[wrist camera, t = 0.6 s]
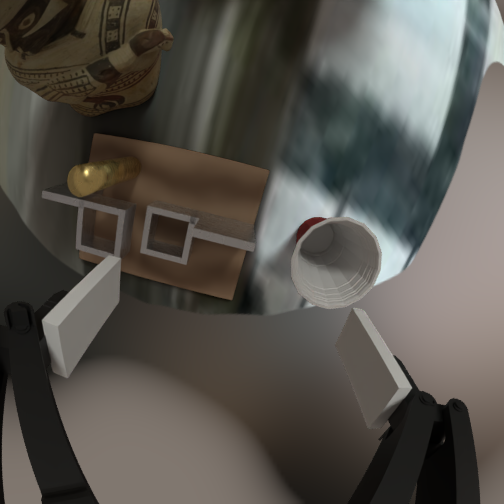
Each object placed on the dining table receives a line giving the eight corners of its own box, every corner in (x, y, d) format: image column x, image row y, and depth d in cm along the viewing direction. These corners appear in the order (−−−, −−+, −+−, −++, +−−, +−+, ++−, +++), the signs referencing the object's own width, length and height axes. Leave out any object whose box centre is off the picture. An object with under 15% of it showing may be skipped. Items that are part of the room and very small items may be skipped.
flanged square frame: (71, 181, 37) (42, 190, 30) (146, 198, 38) (125, 210, 31) (67, 222, 39) (40, 237, 32) (139, 241, 40) (119, 261, 33)
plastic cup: (343, 190, 40) (377, 208, 29) (354, 258, 44) (385, 294, 33) (270, 208, 41) (280, 232, 30) (287, 276, 45) (301, 319, 33)
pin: (123, 154, 36) (69, 162, 23) (143, 158, 37) (95, 167, 24) (118, 176, 37) (65, 193, 24) (138, 181, 38) (90, 199, 25)
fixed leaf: (156, 200, 39) (135, 213, 31) (253, 224, 40) (255, 243, 33) (148, 243, 41) (128, 265, 33) (241, 267, 43) (240, 294, 35)
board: (97, 133, 36) (94, 133, 35) (268, 170, 39) (269, 170, 38) (82, 255, 43) (79, 258, 41) (232, 296, 46) (232, 300, 44)
